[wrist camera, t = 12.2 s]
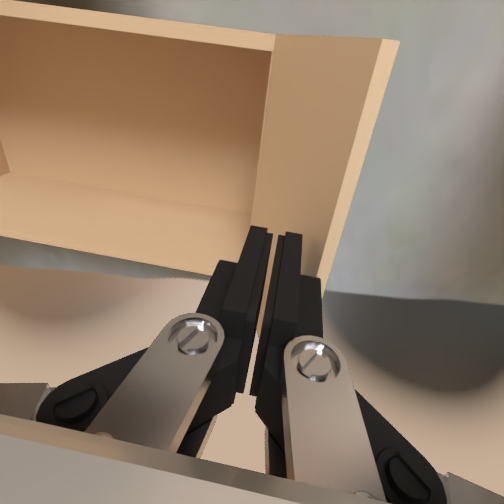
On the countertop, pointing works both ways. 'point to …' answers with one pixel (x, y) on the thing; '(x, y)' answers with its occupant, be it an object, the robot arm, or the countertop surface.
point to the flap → (317, 140)
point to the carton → (130, 134)
